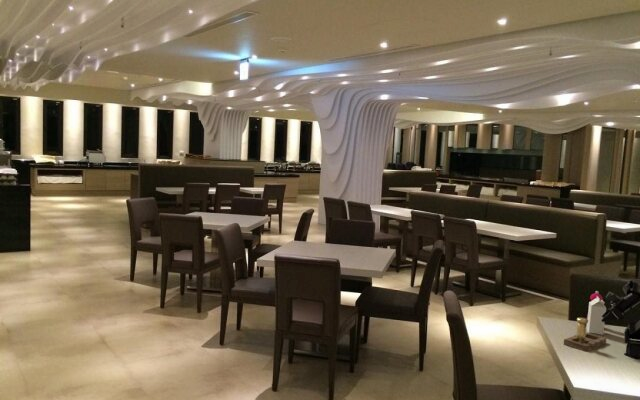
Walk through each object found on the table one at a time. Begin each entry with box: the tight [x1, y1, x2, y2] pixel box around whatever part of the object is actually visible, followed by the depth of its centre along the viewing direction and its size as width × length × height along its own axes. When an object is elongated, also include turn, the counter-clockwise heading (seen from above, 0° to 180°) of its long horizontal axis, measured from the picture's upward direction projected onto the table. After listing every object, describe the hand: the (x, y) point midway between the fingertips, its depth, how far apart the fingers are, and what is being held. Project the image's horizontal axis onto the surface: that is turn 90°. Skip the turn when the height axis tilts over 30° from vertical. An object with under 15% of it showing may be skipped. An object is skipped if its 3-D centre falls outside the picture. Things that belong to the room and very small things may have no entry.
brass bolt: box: [575, 317, 588, 344], centre depth 267 cm, size 5×5×14 cm
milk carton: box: [586, 296, 607, 335], centre depth 290 cm, size 7×7×19 cm
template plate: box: [563, 332, 607, 352], centre depth 270 cm, size 22×11×2 cm, turn 129°
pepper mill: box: [586, 290, 603, 319], centre depth 301 cm, size 7×7×20 cm
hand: (602, 319), depth 268 cm, fingers open, 9 cm apart
